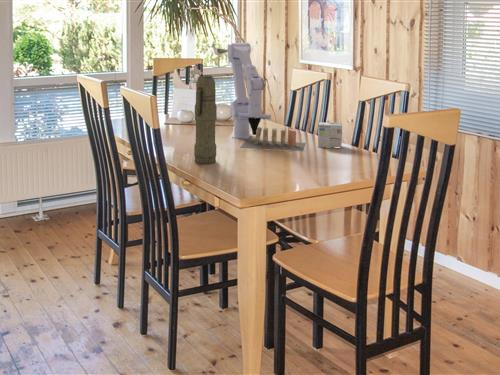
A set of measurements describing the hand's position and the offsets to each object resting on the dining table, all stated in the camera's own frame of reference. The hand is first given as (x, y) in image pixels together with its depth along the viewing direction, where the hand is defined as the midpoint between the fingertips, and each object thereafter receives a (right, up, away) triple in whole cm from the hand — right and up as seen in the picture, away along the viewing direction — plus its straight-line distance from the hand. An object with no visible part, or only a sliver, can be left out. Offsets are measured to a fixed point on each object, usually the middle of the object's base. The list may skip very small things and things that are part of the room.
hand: (254, 134), depth 353 cm
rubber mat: (+9, -5, -2) cm, 10 cm away
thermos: (-20, -14, -34) cm, 42 cm away
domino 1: (+1, -4, +1) cm, 4 cm away
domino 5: (+17, -5, -1) cm, 18 cm away
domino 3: (+9, -4, 0) cm, 10 cm away
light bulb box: (+34, -6, -1) cm, 34 cm away
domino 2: (+5, -4, 0) cm, 7 cm away
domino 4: (+13, -5, -1) cm, 14 cm away
